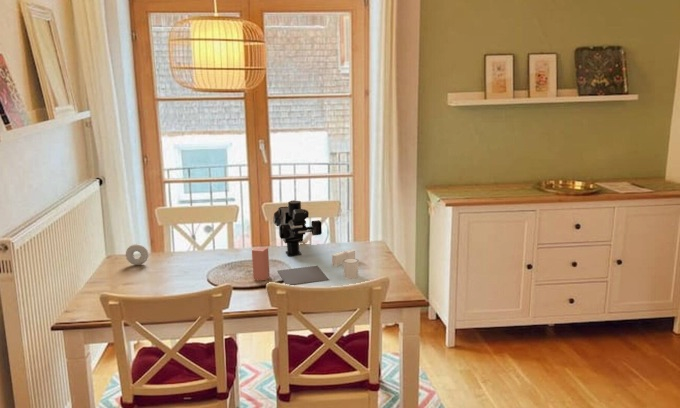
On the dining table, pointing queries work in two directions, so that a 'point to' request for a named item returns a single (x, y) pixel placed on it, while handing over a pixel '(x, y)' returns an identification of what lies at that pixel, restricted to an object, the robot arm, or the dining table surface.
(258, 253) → the card box
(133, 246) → the donut
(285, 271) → the mat
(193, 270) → the dining table surface
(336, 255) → the napkin holder
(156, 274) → the dining table surface
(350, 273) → the shot glass
